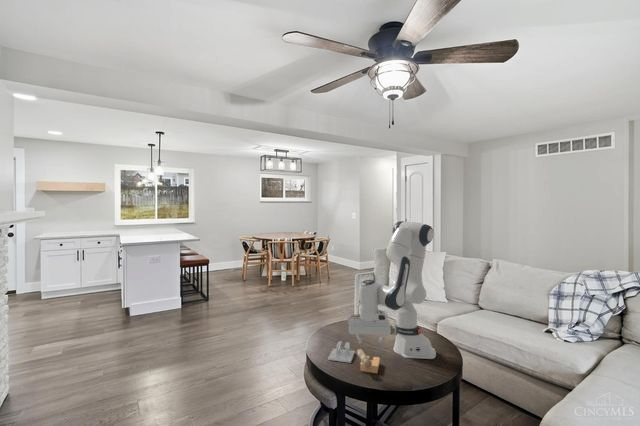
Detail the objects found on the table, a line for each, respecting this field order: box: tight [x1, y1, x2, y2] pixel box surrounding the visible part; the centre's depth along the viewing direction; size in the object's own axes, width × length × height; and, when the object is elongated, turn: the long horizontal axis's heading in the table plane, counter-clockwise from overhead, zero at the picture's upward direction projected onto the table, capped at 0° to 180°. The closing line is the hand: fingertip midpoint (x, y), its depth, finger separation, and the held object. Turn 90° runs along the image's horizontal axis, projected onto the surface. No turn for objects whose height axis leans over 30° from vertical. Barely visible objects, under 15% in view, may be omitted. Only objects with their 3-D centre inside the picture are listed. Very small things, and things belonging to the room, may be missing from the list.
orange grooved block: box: [359, 355, 381, 374], centre depth 160 cm, size 8×10×4 cm
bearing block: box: [327, 340, 356, 364], centre depth 172 cm, size 12×12×6 cm
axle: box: [356, 348, 372, 368], centre depth 159 cm, size 14×3×3 cm
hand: (369, 342), depth 156 cm, fingers open, 8 cm apart
